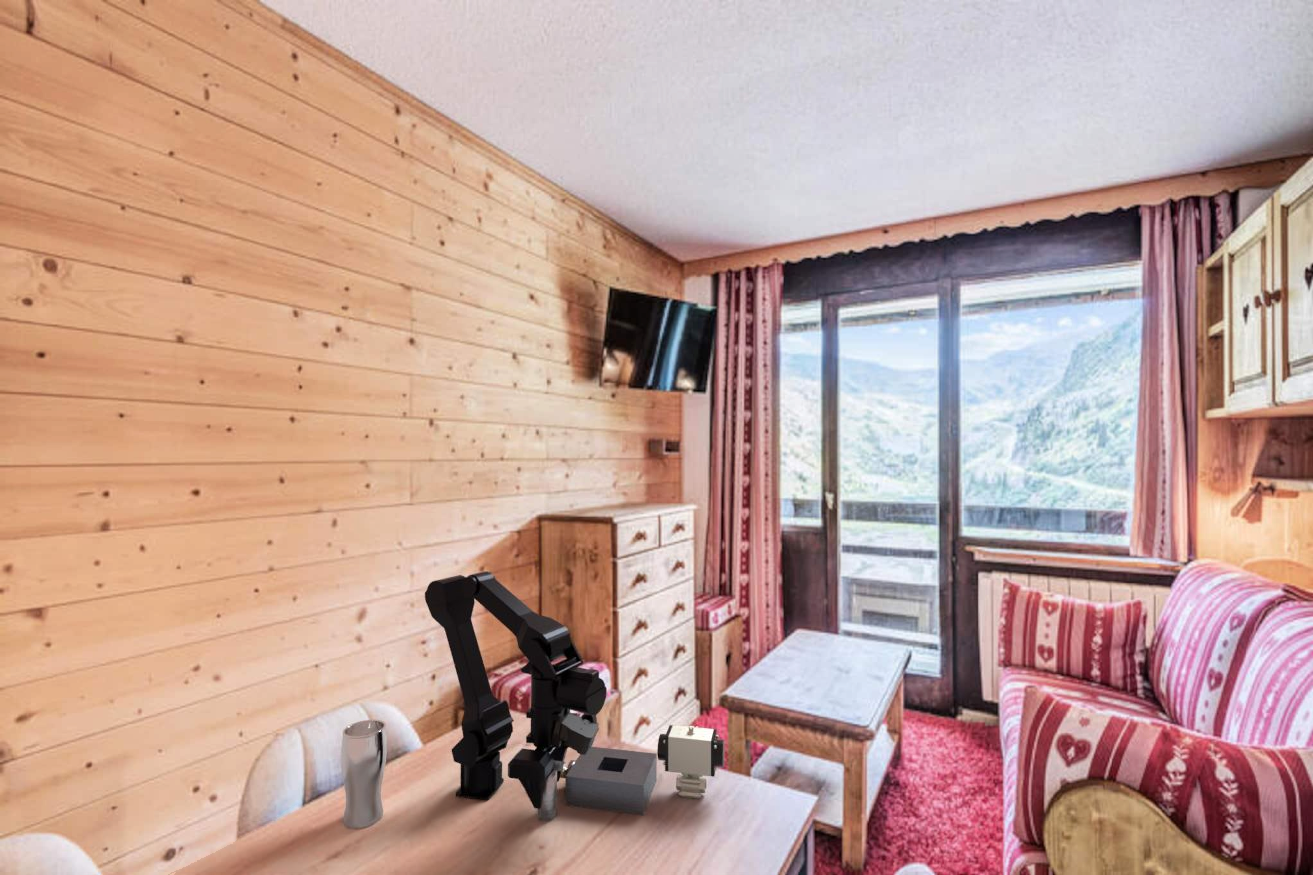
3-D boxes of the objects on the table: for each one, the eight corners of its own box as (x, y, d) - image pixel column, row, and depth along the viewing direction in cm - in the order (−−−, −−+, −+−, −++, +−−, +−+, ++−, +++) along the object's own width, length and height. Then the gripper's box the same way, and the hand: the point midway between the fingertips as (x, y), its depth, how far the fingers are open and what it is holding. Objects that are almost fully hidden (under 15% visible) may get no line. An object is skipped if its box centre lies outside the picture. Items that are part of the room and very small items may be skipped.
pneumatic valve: (722, 804, 106) (722, 735, 106) (656, 796, 108) (657, 729, 108) (725, 787, 111) (725, 721, 111) (662, 780, 113) (663, 716, 114)
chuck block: (533, 800, 106) (533, 772, 107) (555, 768, 117) (556, 742, 117) (643, 815, 102) (643, 785, 103) (656, 780, 113) (656, 753, 113)
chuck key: (526, 818, 101) (527, 764, 101) (534, 807, 104) (534, 754, 105) (560, 823, 100) (560, 768, 100) (567, 812, 103) (567, 758, 103)
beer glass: (330, 825, 99) (331, 733, 100) (363, 802, 106) (365, 716, 106) (362, 834, 97) (364, 740, 97) (395, 810, 103) (396, 722, 104)
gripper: (574, 731, 92) (573, 834, 92) (608, 684, 110) (608, 770, 110) (506, 724, 94) (505, 825, 94) (551, 679, 112) (550, 764, 112)
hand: (547, 794), depth 102 cm, fingers open, 8 cm apart
